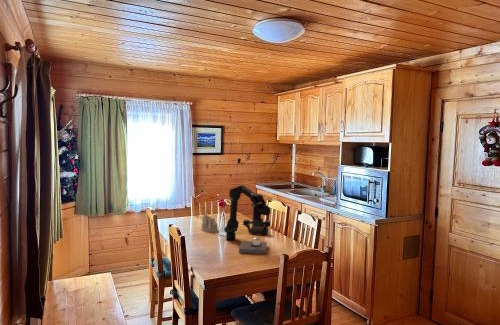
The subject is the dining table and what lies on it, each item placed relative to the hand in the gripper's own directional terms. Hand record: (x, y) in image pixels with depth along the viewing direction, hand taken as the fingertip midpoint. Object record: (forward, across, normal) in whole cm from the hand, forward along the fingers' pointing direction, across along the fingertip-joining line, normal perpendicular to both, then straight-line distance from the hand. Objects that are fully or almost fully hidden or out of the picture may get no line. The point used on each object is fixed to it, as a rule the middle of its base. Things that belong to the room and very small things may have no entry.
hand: (256, 235), depth 242 cm
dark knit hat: (+11, 0, +42) cm, 44 cm away
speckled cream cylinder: (+10, 0, 0) cm, 10 cm away
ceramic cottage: (+10, -41, +46) cm, 63 cm away
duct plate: (+10, -2, 0) cm, 11 cm away
